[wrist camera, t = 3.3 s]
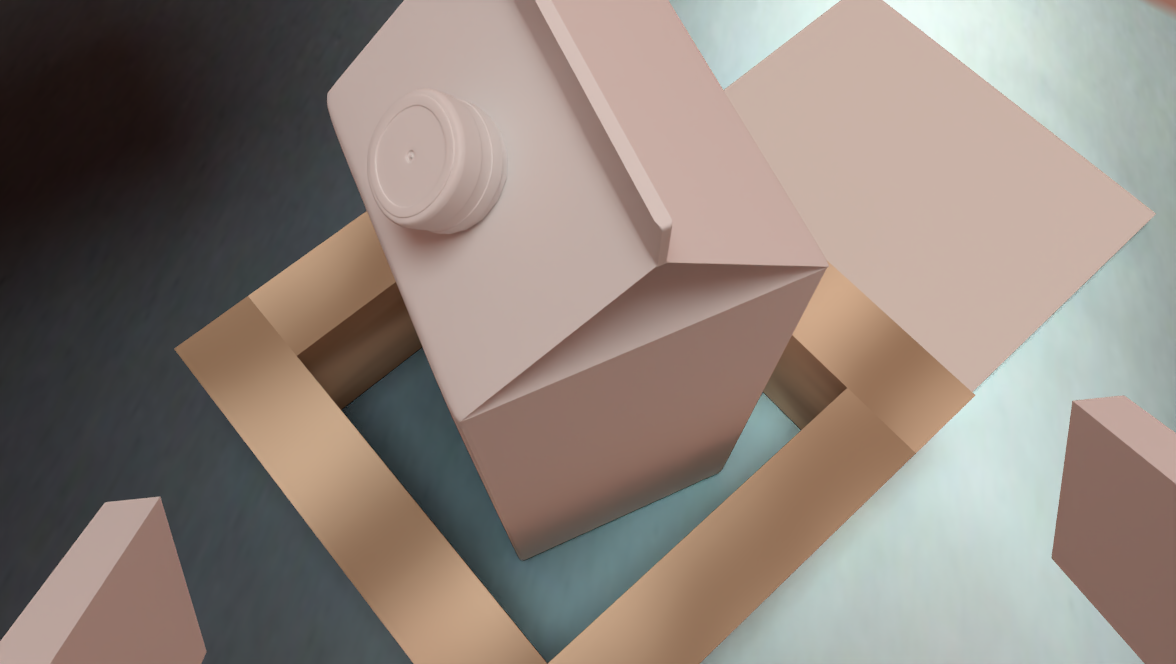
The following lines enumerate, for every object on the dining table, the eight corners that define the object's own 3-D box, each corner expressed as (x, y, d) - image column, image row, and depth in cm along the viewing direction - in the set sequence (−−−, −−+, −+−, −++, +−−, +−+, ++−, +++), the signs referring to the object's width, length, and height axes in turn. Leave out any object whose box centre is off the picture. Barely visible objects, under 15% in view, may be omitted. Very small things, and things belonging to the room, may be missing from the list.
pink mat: (659, 147, 35) (660, 138, 34) (857, -6, 38) (861, -16, 37) (947, 415, 31) (953, 409, 30) (1146, 222, 34) (1156, 213, 33)
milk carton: (630, 291, 33) (672, -204, 15) (722, 472, 30) (903, 132, 13) (440, 369, 32) (248, -66, 14) (520, 564, 29) (408, 330, 12)
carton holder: (236, 403, 31) (174, 348, 26) (594, 136, 35) (594, 48, 30) (545, 804, 26) (535, 823, 22) (917, 443, 30) (975, 395, 26)
